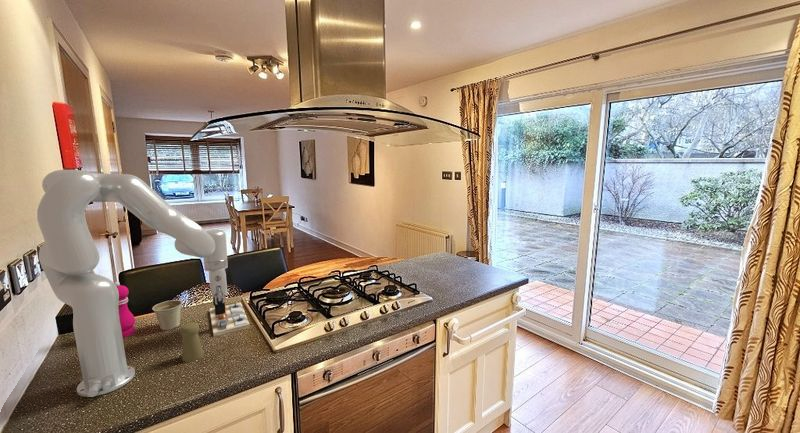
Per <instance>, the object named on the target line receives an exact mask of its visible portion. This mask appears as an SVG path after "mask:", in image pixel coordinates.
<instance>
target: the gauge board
mask: <svg viewBox="0 0 800 433" xmlns="http://www.w3.org/2000/svg"><path fill="white" fill-rule="evenodd" d="M225 304H226V314H227V316H230V315H234V314H239V313H240V315H241V319H239V316H237V317H233V318H228V324H227V323H226V321H224V322H220V326H218V324H217V317H218V316H217V315H215V307H211V308H209V315H210V321H211V328H212V334H213V337H217V336H221V335H224V334H229V333H232V332H233V333H234V332H237V331H241V330H245V329H249V328H250V327H251V324H250V322H249V319H248V317H247V315H246V312H245V309H244V307H243V303H242V302H241V301H239V302H237V301H231V302H225Z"/></svg>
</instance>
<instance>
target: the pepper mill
mask: <svg viewBox="0 0 800 433" xmlns="http://www.w3.org/2000/svg"><path fill="white" fill-rule="evenodd" d="M113 283H114V284H115V285H116V287H117V289H118V292H119V305H118V309H119V319H120V325H121V331H122V337H123V339H124V338H127V337H130V336H132V335H134V334H135V333H136V327H135V326H134V325H135V324H136V318H135V316H134V314H133V313H132V312H131V311H130V309H129V307H128V302H129V298H128V296H129V288H128V287H127V286H125V285H122V284H120V283H121V282H118V281H115V282H113Z"/></svg>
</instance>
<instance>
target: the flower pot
mask: <svg viewBox="0 0 800 433" xmlns="http://www.w3.org/2000/svg"><path fill="white" fill-rule="evenodd" d="M182 304H183V300H179V299H175V300H174V299H173V300H166V301H163V302H160V303H157V304H155V305H154V306H152V308H151V310H152V311H153V312H154V314H155V315H156V316H155V317H156V319H157V322H158V325H159V328H160V330H163V331H169V330H173V329H175V328H177V327H179V326H180V325H181V308H182Z"/></svg>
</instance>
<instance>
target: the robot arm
mask: <svg viewBox="0 0 800 433" xmlns="http://www.w3.org/2000/svg"><path fill="white" fill-rule="evenodd" d="M41 188H42V190H43V191H44V195H43V196H42V197H41V199H40V201H39V204H38V207H37V209H36V210H37V213H36V215H37V222H38V223H37V224H38V226H39V229H40V231H41V234H42V237H43V240H44V243H42V245H41V246H40V247H39V248H40V249H39V251H38V260H39V263H40V266H41V268H42V270H43V272H44V275H45V278H46V279H47V281H48V284H49V286H50V287H51V289H52V291H53V293H54V295H55V297H56V298H57V299H58V300H59V301H60V302H62V303H64V304H65V305H68V306H69V307H71V308H72V313H73V318H72V327H73V335H74V339H75V343H76V349H77V356H78V360H79V365H80V366H79V367H80V372H81V378H82V380H81V382H80V383H79V384H78V385H77V387H76V393H77V395H78V396H80V397H85V398H90V397H91V398H93V397H98V396H101V395H105V394H108V393H111V392H113V391H116V390H118V389H119V388H122V387H124V386H125V385H127V384H128V383H129V382H131V381H132V380H133V378H134V377H135V375H136V371H135V370H136V369H135V368H134V367H133V366H130V365H128V364H127V363H128V362H127V358H126V350H125V345H124V338H123V337H122V331H121V325H120V319H119V309H118V305H119V292H118V289H117V287H116V285H115V284H114V283H115V282H114V281H112V280H111V279H109V278H107V277H105V276H102V275H100V274H96V273H95V272H94V270H95V268H97V266H98V264H99V262H100V252H99V250H98V248H97V245H96V244H95V241H94V238H93V236H92V234H91V232H90V229H89V226H88V223H87V219H86V209H87V208H88V206H89V204H90V203H93V202H94V203H95V202H96V203H119V204H120V205H122V207H124V208H125V209H126V210H128V211H129V212H130V213H132V214H133V216H135V217H136V218H138V219H139V220H140V221H141V222H143V224H145V225H146V226H148V227H149V228H151V229H153V230H155V231H157V232H160V233H162V234H165V235H167V236H169V237H171V238H173V239H175V241H174V248H175V250H176V251H177V253H180V254H182V255H185V256H191V257H196V258H200V259H203V265H204V266H203V268H204V271H206V272H208V279H209V280H208V281H209V288H210V293H211V296H212V302H213V306H214V308H215V315H219V314H224V313H225V303H226V302H225V298H224V296H226V297H227V296H228V285H227V273H226V269H227V268H228V264H229V263H228V262H229V261H228V250H227V246H228V245H227V236H226V232H225V230H222V229H211V230H205V229H204V228H203V227H202V226H200V225H199V224H198V223H197V222H195V221H194V220H192V219H191V218H189V217H188V216H186V215H184V214H183V213H182V212H181V211H179V210H178V209H176V208H174V207H173V206H172V205H170V203H168V202H167V201H166V200H165V199H164V198H162V196H160V194H158V192H156V191H155V190H154V189H153V188H151V187H150V186H149V185H148V184H147V183H146V182H145V181H143V179H141V178H140V177H138V176H136V175H134V174H129V173H100V172H89V171H86V170H83V169H82V170H81V169H58V170H54V171H51V172H50V173H48V174H46V175H45V177H43V179H42V183H41Z"/></svg>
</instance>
